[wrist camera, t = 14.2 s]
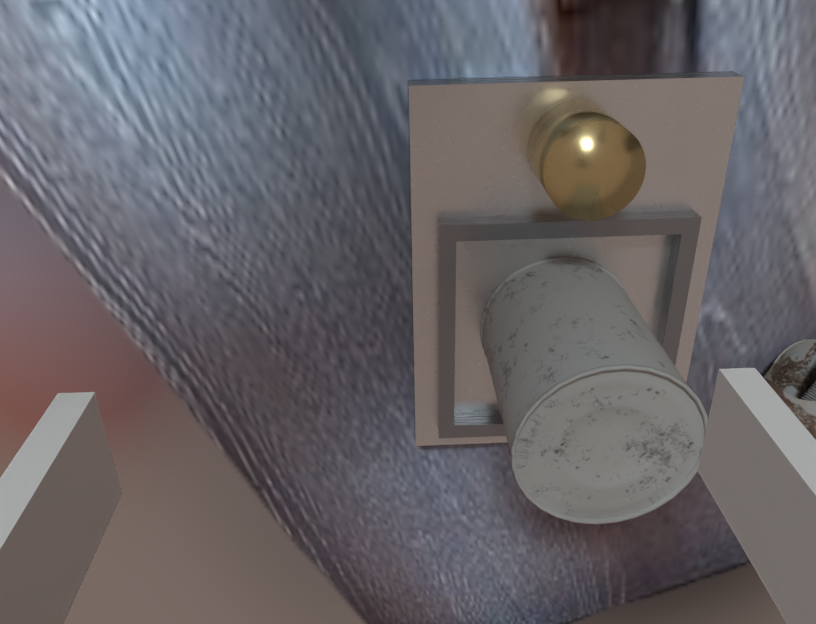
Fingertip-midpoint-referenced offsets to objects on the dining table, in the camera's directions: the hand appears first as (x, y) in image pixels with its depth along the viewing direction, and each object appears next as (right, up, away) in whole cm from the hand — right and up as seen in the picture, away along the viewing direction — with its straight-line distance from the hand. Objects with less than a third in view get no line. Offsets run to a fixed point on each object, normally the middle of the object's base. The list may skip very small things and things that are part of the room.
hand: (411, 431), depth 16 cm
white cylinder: (+9, +2, +30) cm, 32 cm away
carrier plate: (+9, +5, +30) cm, 32 cm away
